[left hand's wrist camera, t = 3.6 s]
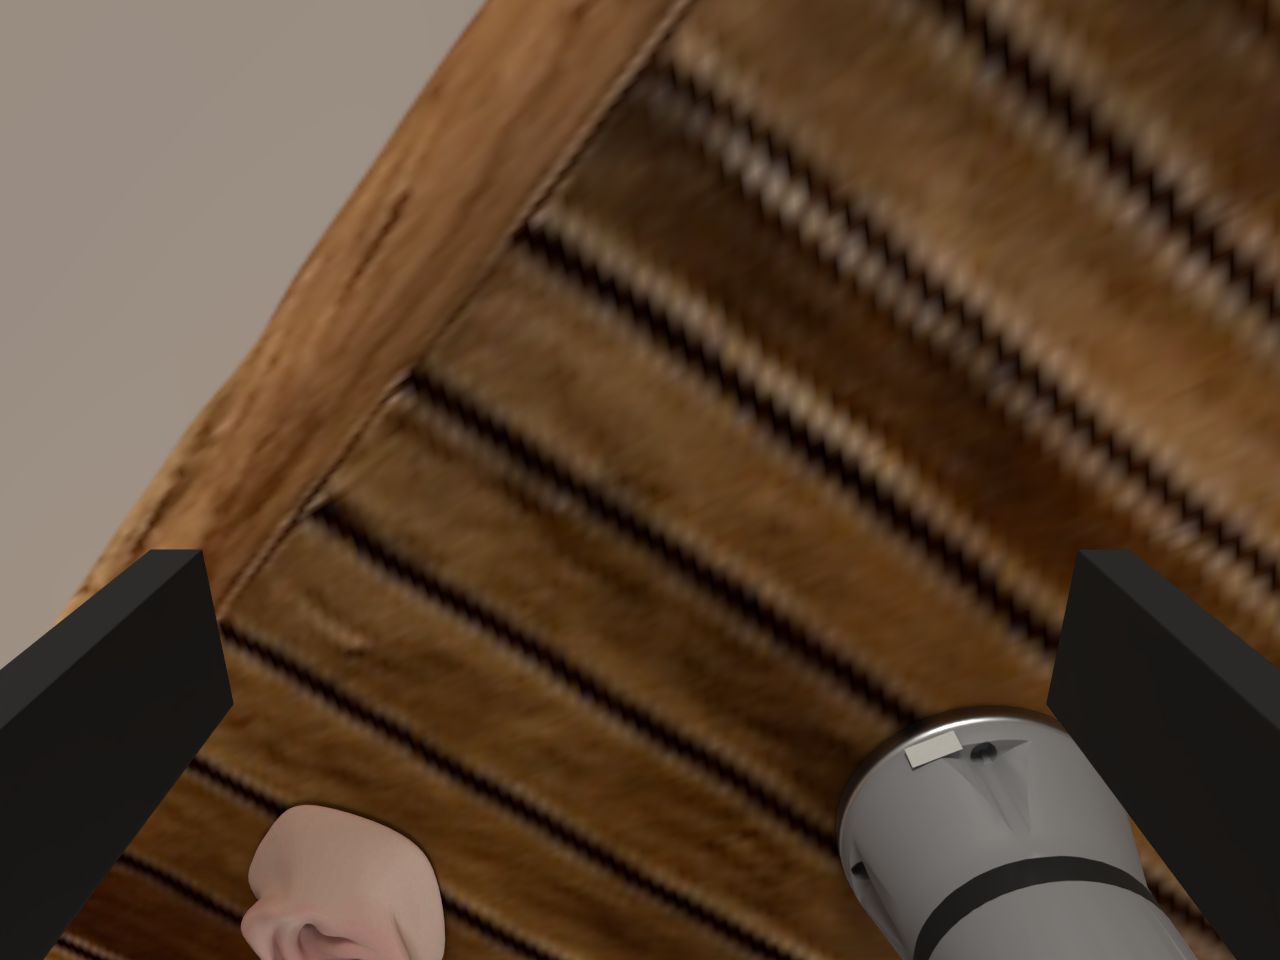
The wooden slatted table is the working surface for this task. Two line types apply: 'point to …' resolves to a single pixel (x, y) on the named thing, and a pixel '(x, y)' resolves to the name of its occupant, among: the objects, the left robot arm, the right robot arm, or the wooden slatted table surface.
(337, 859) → the anatomical model
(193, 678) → the left robot arm
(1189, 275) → the wooden slatted table surface
